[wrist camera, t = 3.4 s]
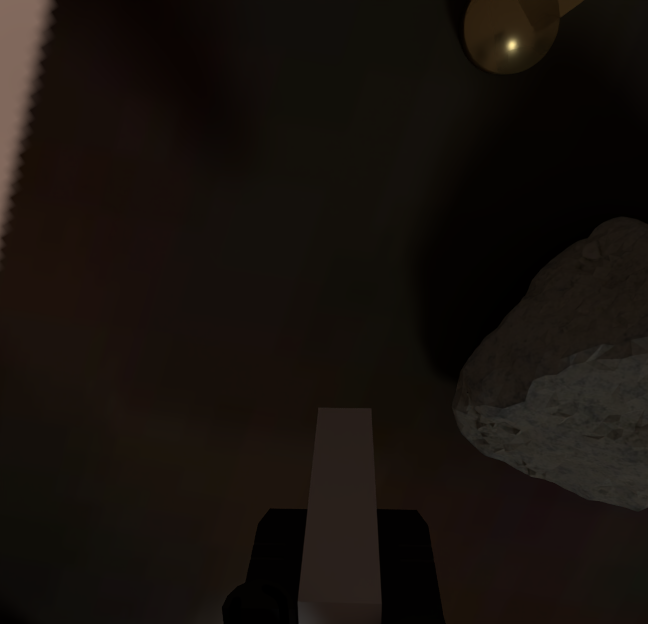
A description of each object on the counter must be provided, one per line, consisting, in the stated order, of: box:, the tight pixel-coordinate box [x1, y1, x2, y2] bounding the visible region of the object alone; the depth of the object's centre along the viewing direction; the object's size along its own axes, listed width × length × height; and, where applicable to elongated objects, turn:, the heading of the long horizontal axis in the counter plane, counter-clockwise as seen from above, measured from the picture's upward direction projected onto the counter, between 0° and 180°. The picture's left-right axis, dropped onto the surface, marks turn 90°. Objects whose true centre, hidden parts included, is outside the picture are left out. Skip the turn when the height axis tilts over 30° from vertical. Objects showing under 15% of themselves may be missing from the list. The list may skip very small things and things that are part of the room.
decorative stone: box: [452, 216, 648, 511], centre depth 22 cm, size 13×11×10 cm
